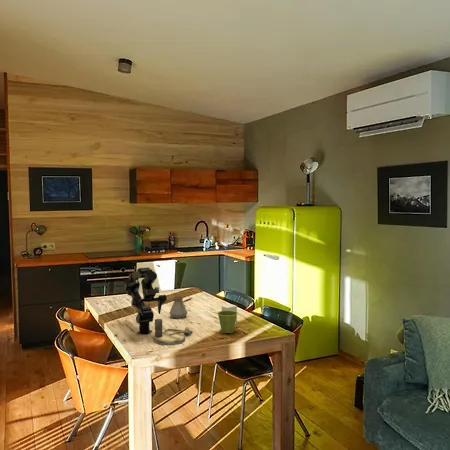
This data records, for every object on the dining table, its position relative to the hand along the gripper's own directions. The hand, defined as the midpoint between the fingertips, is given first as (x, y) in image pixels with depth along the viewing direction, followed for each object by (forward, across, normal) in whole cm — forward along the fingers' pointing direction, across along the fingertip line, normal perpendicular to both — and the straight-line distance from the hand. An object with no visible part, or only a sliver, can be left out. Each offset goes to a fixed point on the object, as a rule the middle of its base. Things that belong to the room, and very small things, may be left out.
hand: (151, 314), depth 252 cm
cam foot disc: (+12, +12, +5) cm, 18 cm away
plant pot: (+13, +44, +5) cm, 46 cm away
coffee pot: (-10, +30, +37) cm, 48 cm away
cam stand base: (+12, +11, +6) cm, 18 cm away
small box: (+2, +53, +20) cm, 57 cm away
